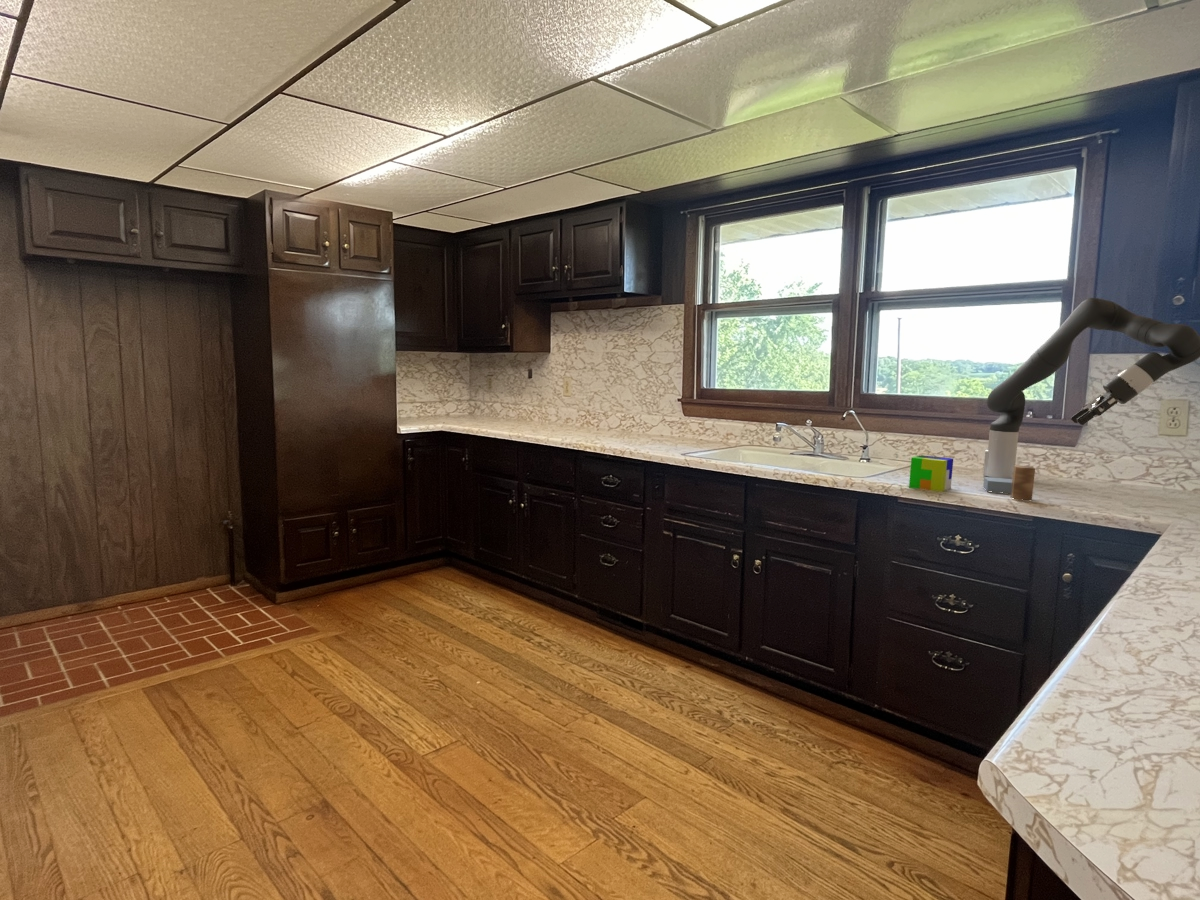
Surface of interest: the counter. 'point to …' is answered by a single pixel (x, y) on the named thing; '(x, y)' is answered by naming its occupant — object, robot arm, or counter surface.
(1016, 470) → the walnut block
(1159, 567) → the counter surface
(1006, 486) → the slate plinth
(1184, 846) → the counter surface
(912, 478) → the puzzle toy
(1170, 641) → the counter surface
